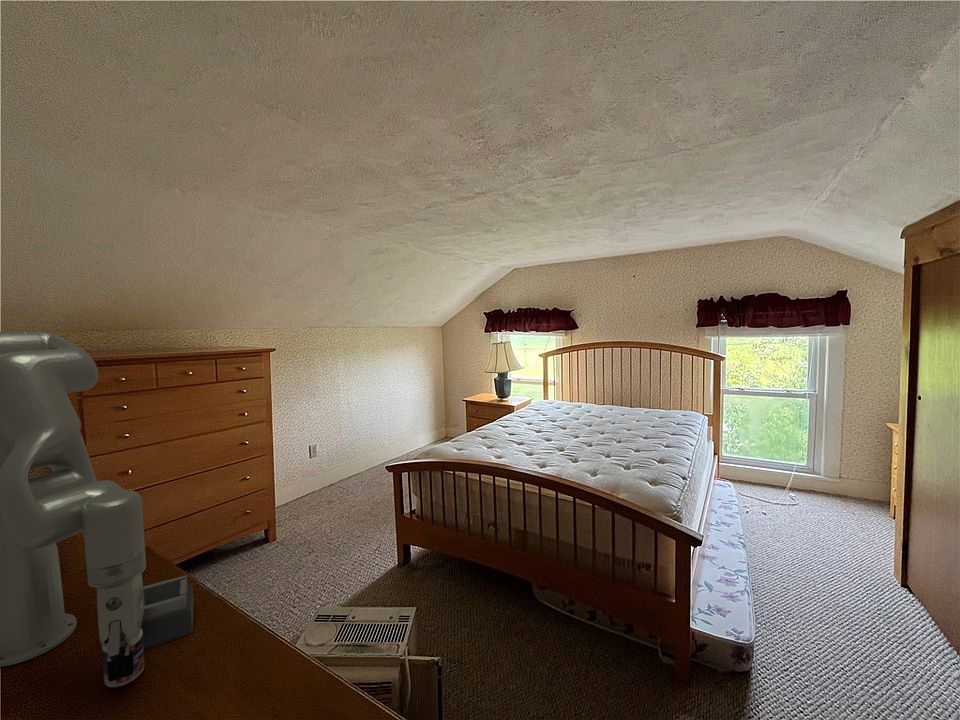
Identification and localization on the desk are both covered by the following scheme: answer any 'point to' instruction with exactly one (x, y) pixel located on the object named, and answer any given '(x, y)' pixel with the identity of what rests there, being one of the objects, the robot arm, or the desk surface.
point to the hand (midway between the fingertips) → (124, 662)
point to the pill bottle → (138, 661)
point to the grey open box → (167, 611)
